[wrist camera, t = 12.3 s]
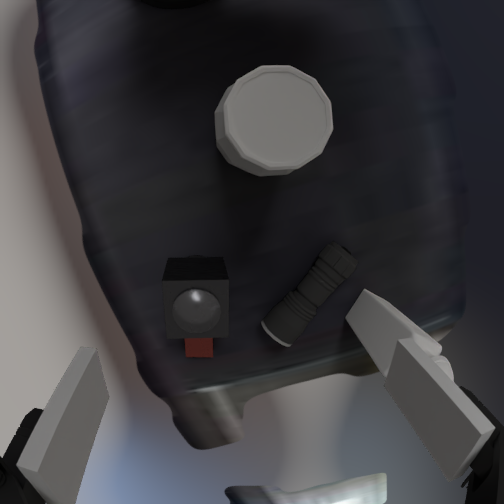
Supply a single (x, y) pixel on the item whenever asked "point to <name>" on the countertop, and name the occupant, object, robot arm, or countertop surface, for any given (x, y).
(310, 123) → the jar
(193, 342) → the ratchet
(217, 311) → the speaker cube
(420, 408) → the robot arm
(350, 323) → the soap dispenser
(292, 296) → the flashlight
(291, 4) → the countertop surface
